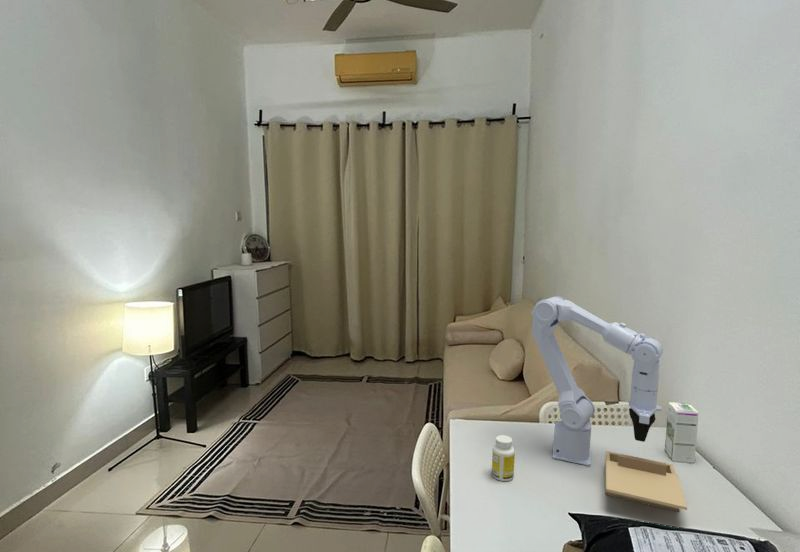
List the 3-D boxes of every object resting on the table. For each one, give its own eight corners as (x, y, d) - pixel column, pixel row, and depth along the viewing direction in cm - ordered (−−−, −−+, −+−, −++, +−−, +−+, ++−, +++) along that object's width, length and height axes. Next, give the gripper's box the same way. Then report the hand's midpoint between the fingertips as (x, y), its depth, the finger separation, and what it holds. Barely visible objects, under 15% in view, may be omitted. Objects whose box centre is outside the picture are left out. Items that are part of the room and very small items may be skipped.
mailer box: (605, 494, 106) (606, 476, 106) (604, 467, 118) (606, 450, 117) (679, 511, 100) (681, 493, 100) (671, 481, 112) (672, 464, 111)
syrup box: (695, 463, 120) (700, 411, 119) (670, 461, 122) (675, 409, 120) (686, 453, 126) (691, 403, 124) (663, 450, 127) (667, 401, 125)
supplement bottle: (515, 473, 115) (517, 436, 114) (511, 484, 110) (513, 446, 109) (494, 467, 117) (495, 432, 116) (489, 478, 112) (490, 441, 111)
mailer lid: (606, 491, 99) (607, 478, 99) (605, 462, 111) (606, 450, 111) (686, 510, 93) (688, 496, 93) (677, 477, 105) (678, 465, 105)
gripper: (666, 400, 103) (661, 457, 104) (660, 380, 116) (655, 430, 117) (631, 395, 106) (626, 450, 107) (629, 376, 119) (625, 425, 120)
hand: (639, 439), depth 113 cm, fingers closed
